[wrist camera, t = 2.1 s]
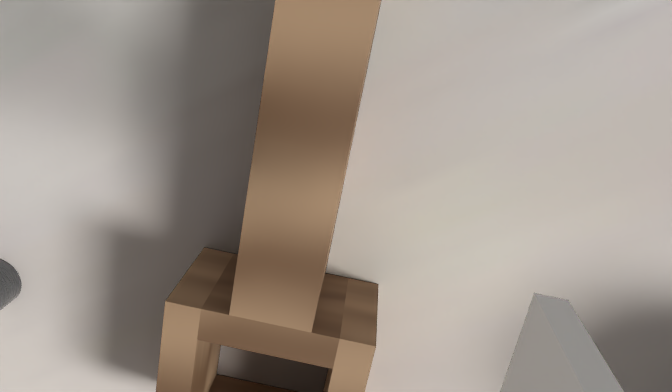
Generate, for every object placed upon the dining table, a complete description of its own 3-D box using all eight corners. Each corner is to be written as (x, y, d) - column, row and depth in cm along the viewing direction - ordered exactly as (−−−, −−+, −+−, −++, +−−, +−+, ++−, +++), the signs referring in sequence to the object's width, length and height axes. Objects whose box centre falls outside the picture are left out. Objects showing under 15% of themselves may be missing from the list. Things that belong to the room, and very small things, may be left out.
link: (256, -171, 21) (218, -217, 17) (478, -126, 21) (503, -161, 16) (186, 390, 30) (148, 465, 25) (344, 425, 30) (335, 507, 25)
